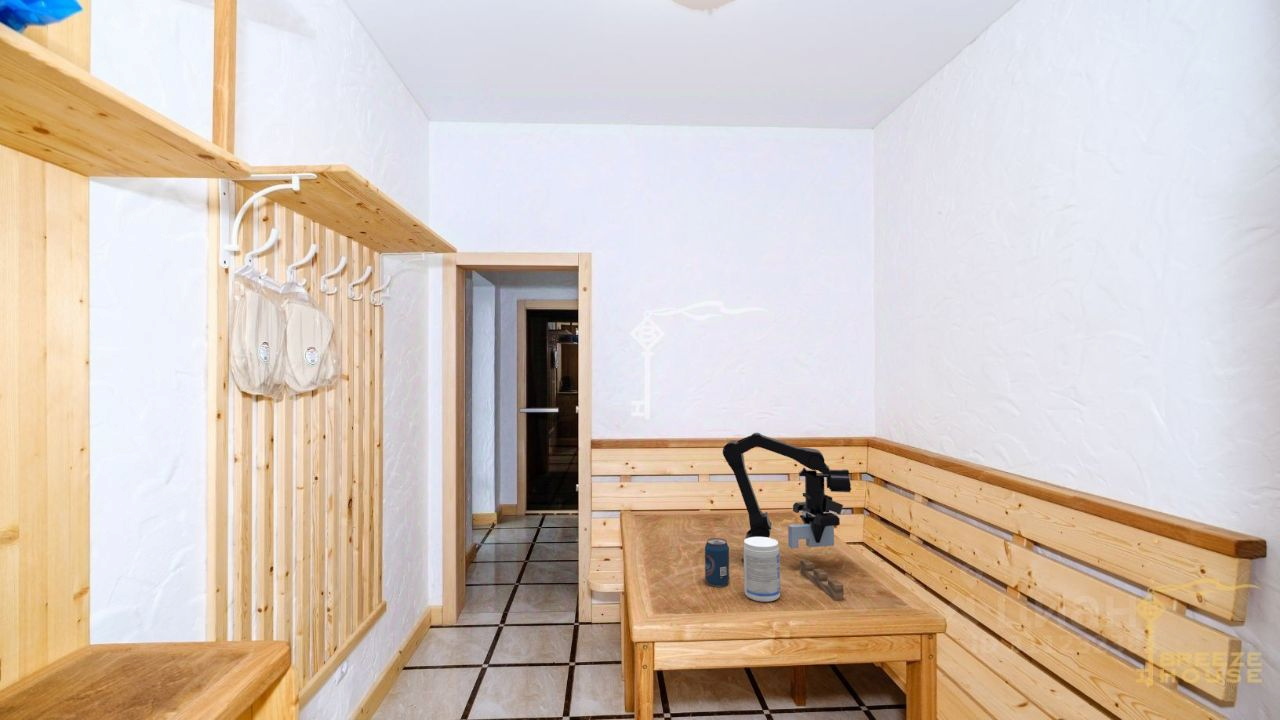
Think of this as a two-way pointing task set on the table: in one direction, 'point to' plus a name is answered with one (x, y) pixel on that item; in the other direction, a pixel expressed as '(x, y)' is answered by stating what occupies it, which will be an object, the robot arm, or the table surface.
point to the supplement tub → (761, 569)
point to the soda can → (717, 562)
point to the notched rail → (822, 580)
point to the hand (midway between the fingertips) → (815, 541)
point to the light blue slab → (809, 536)
